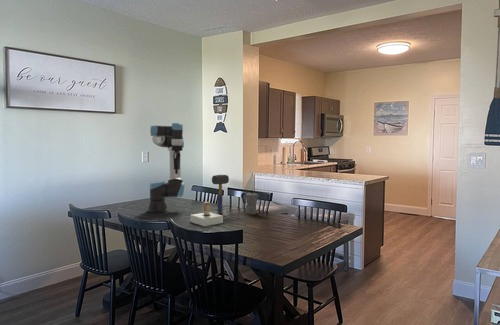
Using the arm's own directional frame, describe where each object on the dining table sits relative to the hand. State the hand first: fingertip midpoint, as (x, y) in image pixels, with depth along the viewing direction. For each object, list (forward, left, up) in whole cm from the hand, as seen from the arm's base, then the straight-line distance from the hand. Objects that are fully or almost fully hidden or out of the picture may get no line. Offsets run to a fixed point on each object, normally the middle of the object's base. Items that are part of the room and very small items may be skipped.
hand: (176, 178), depth 262 cm
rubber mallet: (+2, +38, -30) cm, 48 cm away
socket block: (+21, +11, -29) cm, 38 cm away
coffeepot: (+17, +56, -30) cm, 66 cm away
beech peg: (+21, +11, -29) cm, 38 cm away
